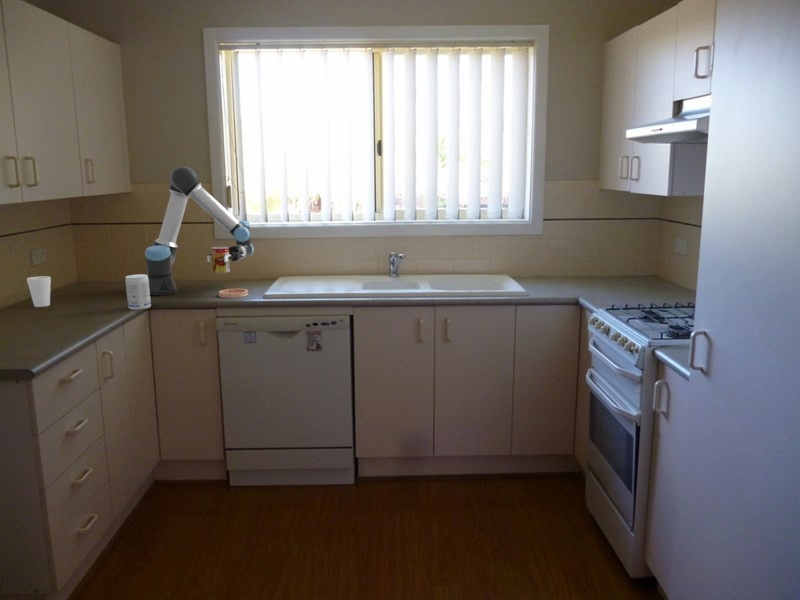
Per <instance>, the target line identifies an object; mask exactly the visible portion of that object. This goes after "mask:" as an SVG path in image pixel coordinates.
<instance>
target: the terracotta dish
mask: <svg viewBox="0 0 800 600" xmlns="http://www.w3.org/2000/svg"><path fill="white" fill-rule="evenodd" d="M248 295H249V290H248V289H245V288H227V289H221V290H219V291H218V297H219V298H224V299H229V298H231V299H234V298H235V299H237V298H242V297H247V296H248Z"/></svg>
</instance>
